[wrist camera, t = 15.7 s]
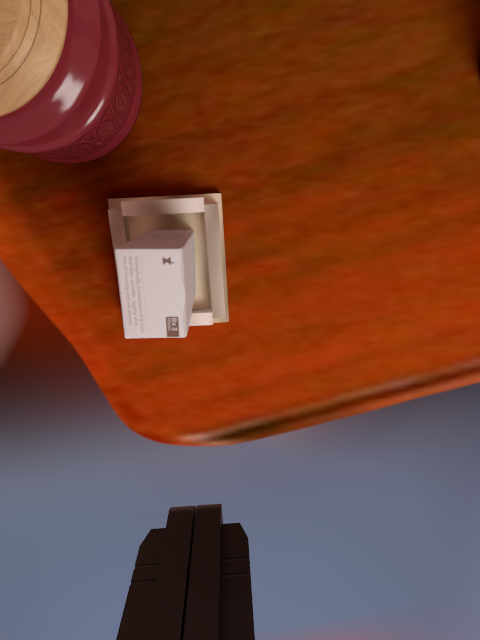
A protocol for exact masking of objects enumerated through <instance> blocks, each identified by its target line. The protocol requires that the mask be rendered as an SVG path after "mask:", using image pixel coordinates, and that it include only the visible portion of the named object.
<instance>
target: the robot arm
mask: <svg viewBox="0 0 480 640" xmlns="http://www.w3.org/2000/svg"><path fill="white" fill-rule="evenodd" d="M248 546H249V545H248V537H247V535H246V534H245V532H244V530H243V528H242V526H241V524H240V523H232V524H223V517H222V505H221V504H213V505H198V506H197V507H195V506H186V507H172V508H170V510H169V515H168V519H167V525H166V528H161V529H151V530H150V532H149V533H148V535H147V536H146V538H145V539H144V541H143V542H142V543H141V545H140V547H139V551H138V555H137V559H136V563H135V569H134V571H133V575H132V579H131V585H130V587H129V592H128V595H127V599H126V603H125V608H124V611H123V616H122V619H121V623H120V627H119V631H118V635H117V639H116V640H255V637H254V621H253V606H252V592H251V591H252V590H251V576H250V561H249V547H248Z"/></svg>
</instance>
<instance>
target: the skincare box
mask: <svg viewBox="0 0 480 640" xmlns="http://www.w3.org/2000/svg"><path fill="white" fill-rule="evenodd" d="M115 258H116V266H117V275H118V283H119V292H120V301H121V309H122V317H123V327H124V337H125V338H184V337H186V336H187V332H188V328H189V323H190V318H191V313H192V308H193V303H194V298H195V293H196V272H195V241H194V231H193V230H149V231H148V232H146V233H144V234H142V235H140V236H138V237H136V238H134V239H132V240H130V241H128V242H126V243H124V244H123V245H120V246H118V247H116V248H115Z"/></svg>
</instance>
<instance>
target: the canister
mask: <svg viewBox="0 0 480 640" xmlns="http://www.w3.org/2000/svg"><path fill="white" fill-rule="evenodd" d="M141 100H142V71H141V64H140V59H139V55H138V52H137V48H136V46H135V43H134V40H133V38H132V36H131V33H130V32H129V30H128V28H127V26H126V24H125V22H124V20H123V19H122V17H121V15H120V14H119V13H118V11H117V10H116V8H115V7H114V6H113V5H112V3H111V2H110V1H109V0H0V148H1V149H5V150H9V151H14V152H21V153H29V154H31V155H34V156H36V157H39V158H42V159H45V160H49V161H53V162H58V163H68V164H74V163H83V162H88V161H92V160H95V159H97V158H100V157H102V156H104V155H106V154H108V153H110V152H111V151H113V150H114V149H115V148H117V147H118V146H119V145H120V144H121V143H122V142H123V141H124V140H125V138H126V137H127V136H128V134H129V133H130V132H131V130H132V128H133V126H134V124H135V122H136V120H137V117H138V114H139V110H140V106H141Z"/></svg>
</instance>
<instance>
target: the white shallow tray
mask: <svg viewBox="0 0 480 640" xmlns="http://www.w3.org/2000/svg"><path fill="white" fill-rule="evenodd" d="M108 205H109V210H108V216H109V223H110V230H111V236H112V243H113V249H114V256H115V248H116V247H118V246H120V245H123V244H124V243H126V242H128V241H130V240H132V239H134V238H136V237H138V236H140V235H142V234H144V233H146V232H148V231H149V230H193V231H194V241H195V272H196V293H195V298H194V303H193V308H192V313H191V318H190V323H189V326H197V325H213V323H217V322H229V313H228V296H227V280H226V264H225V248H224V231H223V215H222V199H221V193H215V194H196V195H176V196H157V197H137V198H118V199H108ZM115 262H116V258H115ZM116 269H117V266H116ZM117 276H118V275H117Z"/></svg>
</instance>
